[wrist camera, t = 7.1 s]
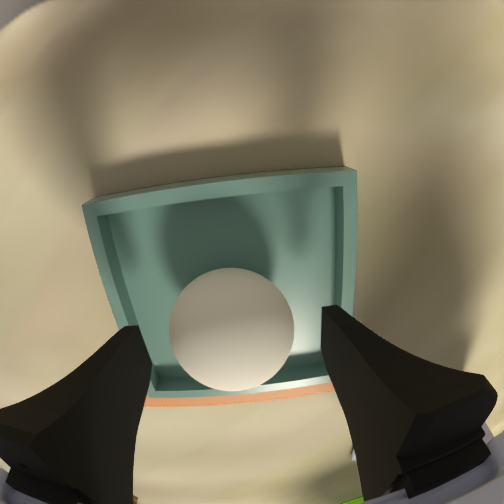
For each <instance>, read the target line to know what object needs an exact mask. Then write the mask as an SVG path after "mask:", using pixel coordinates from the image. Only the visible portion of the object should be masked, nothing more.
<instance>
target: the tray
mask: <svg viewBox="0 0 504 504" xmlns="http://www.w3.org/2000/svg"><path fill="white" fill-rule="evenodd" d="M82 208H83V213H84V217H85V221H86V225H87V229H88V233H89V237H90V241H91V245H92V248H93V252H94V256H95V259H96V262H97V266H98V269H99V272H100V276H101V279H102V282H103V285H104V288H105V291H106V294H107V297H108V300H109V303H110V306H111V309H112V312H113V314H114V317H115V320H116V322H117V325H118V328H119V330H120V329H122V328H123V327H124V326H132V325H139V328H140V331H141V334H142V337H143V340H144V342H145V345H146V348H147V350H148V353H149V356H150V358H151V361H152V371H151V378H150V385H149V389H148V392H147V395H148V397H149V398H186V397H210V396H226V395H238V394H249V393H259V392H268V391H276V390H284V389H291V388H298V387H304V386H310V385H316V384H322V383H327V382H331V379H330V377H329V375H328V372H327V370H326V367H325V363H324V359H323V355H322V351H321V348H320V346H321V314H322V307H324V306H330V305H338V306H339V307H341V308H342V309H343V310H345V311H346V312H347V313H348V314H350V315H351V316H353V304H354V291H355V274H356V252H357V170H354V169H351V168H348V167H346V166H339V167H321V168H306V169H292V170H280V171H269V172H259V173H249V174H240V175H231V176H223V177H215V178H207V179H200V180H193V181H186V182H179V183H173V184H166V185H160V186H154V187H148V188H142V189H137V190H131V191H126V192H120V193H115V194H110V195H105V196H100V197H95V198H93V199H92V200H90V201H88V202H86V203H84V204H83V205H82ZM221 268H241V269H246V270H250V271H253V272H255V273H257V274H260V275H262V276H263V277H265V278H266V279H268V280H269V281H271V282H272V283H273V284H274V285H275V286H276V287H277V288H278V289H279V290H280V291H281V293H282V294H283V295H284V297H285V298H286V300H287V302H288V304H289V307H290V309H291V312H292V316H293V320H294V340H293V344H292V348H291V351H290V354H289V356H288V358H287V360H286V361H285V363H284V365H283V366H282V367H281V369H280V370H279V371H278V372H277V373H276V374H275V375H274V376H273V377H272V378H270V379H269V380H267V381H266V382H264V383H262V384H261V385H259V386H256V387H254V388H251V389H247V390H242V391H222V390H217V389H213V388H210V387H208V386H205V385H203V384H202V383H200V382H198V381H197V380H195V379H194V378H192V377H191V376H190V375H189V374H188V373H187V372H186V371H185V370H184V369H183V368H182V366H181V365H180V364H179V362H178V360H177V358H176V357H175V355H174V352H173V350H172V347H171V343H170V338H169V320H170V315H171V311H172V308H173V306H174V304H175V302H176V299H177V298H178V296H179V295H180V293H181V292H182V291H183V289H184V288H185V287H186V286H187V285H188V284H189V283H191V282H192V281H193V280H194V279H196V278H197V277H199V276H201V275H202V274H205V273H207V272H209V271H213V270H216V269H221Z"/></svg>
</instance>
